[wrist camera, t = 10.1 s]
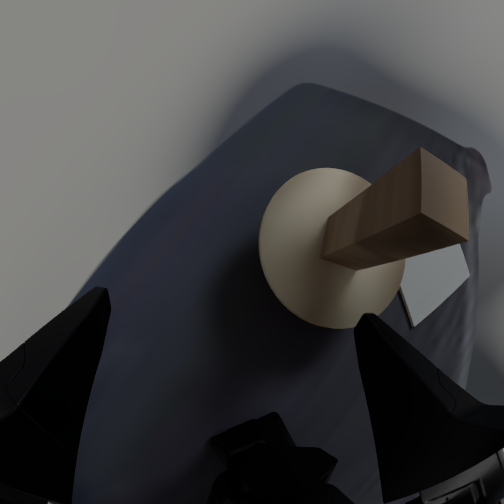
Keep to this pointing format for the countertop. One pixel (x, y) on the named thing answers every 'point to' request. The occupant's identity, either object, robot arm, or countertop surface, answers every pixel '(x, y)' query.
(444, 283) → the mat
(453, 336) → the countertop surface
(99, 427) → the countertop surface
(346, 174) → the lid
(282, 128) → the countertop surface
